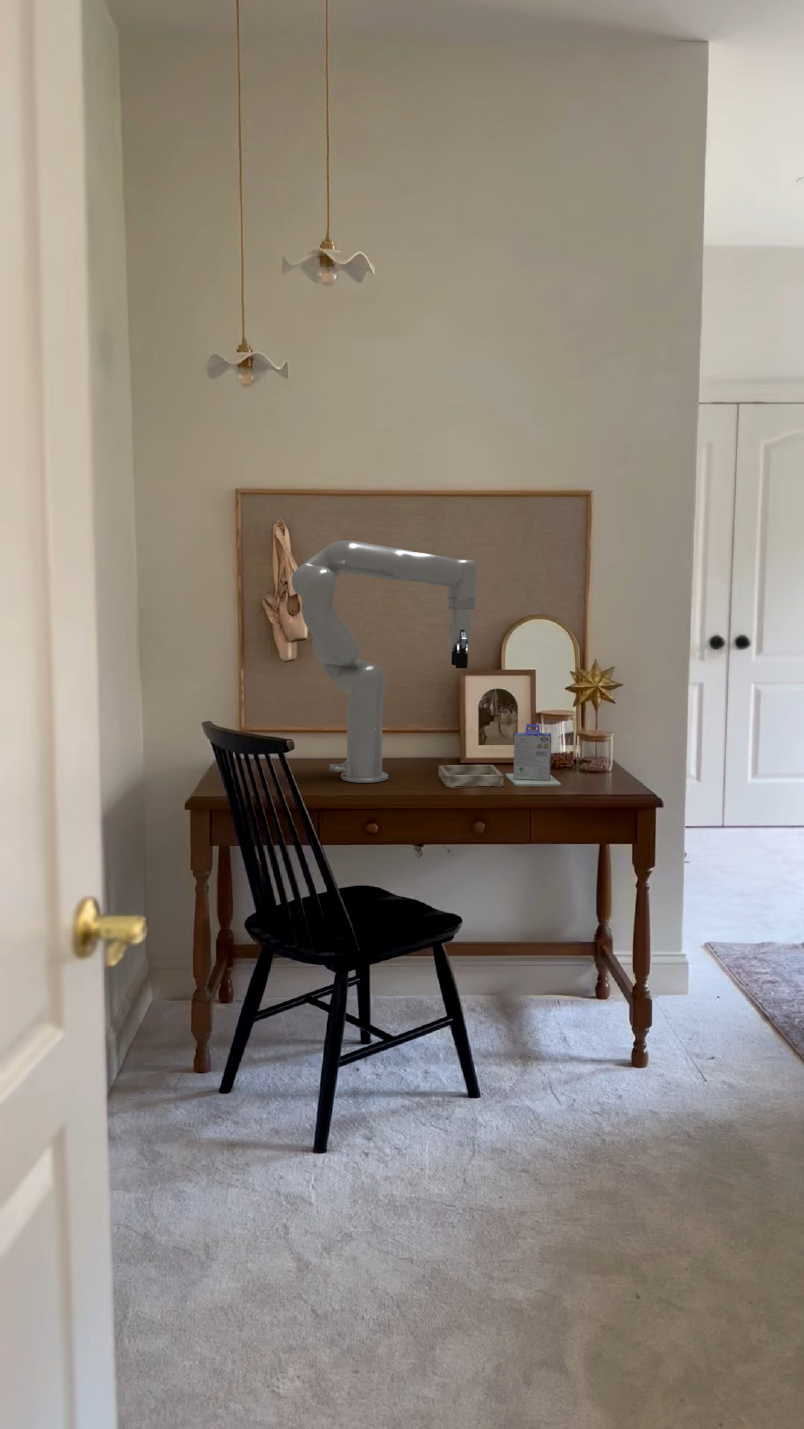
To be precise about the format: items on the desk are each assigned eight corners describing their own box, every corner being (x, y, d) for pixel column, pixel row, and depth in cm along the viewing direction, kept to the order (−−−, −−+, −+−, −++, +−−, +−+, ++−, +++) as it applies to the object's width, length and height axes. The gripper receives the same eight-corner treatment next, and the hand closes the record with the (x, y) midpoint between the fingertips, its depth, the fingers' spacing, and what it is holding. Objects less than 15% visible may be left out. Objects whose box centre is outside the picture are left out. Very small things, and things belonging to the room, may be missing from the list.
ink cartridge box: (550, 777, 297) (552, 724, 295) (550, 781, 292) (551, 727, 290) (513, 775, 299) (515, 723, 297) (513, 779, 293) (514, 726, 291)
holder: (446, 787, 285) (446, 776, 285) (438, 776, 300) (438, 765, 299) (503, 786, 287) (503, 775, 286) (492, 775, 301) (492, 764, 301)
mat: (516, 786, 287) (516, 784, 287) (505, 775, 301) (505, 773, 301) (560, 785, 289) (560, 783, 289) (548, 775, 302) (548, 773, 302)
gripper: (444, 603, 310) (442, 663, 312) (451, 605, 293) (449, 669, 295) (470, 604, 310) (468, 664, 313) (479, 606, 293) (476, 669, 296)
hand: (459, 666), depth 304 cm, fingers open, 9 cm apart
